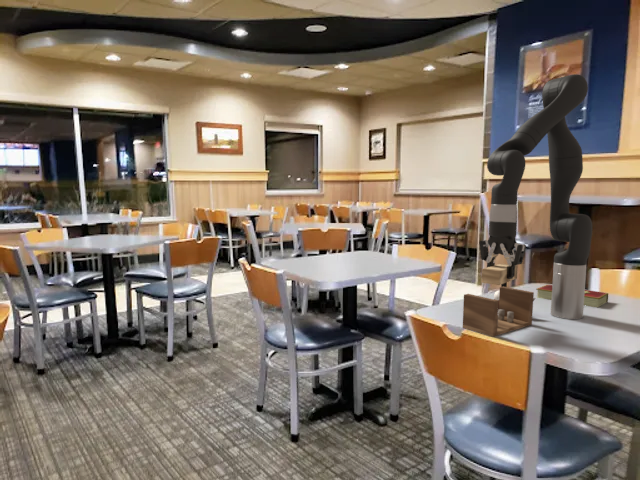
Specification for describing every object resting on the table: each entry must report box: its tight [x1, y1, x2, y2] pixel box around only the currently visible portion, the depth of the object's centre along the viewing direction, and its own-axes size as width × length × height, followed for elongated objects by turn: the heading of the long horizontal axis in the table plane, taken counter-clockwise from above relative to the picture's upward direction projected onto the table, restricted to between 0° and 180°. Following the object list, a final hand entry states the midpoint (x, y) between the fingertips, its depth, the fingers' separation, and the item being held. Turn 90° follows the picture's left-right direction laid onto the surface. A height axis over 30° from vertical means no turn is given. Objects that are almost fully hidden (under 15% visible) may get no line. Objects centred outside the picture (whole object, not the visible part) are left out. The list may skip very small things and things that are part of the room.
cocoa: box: [493, 282, 508, 310], centre depth 151 cm, size 10×6×12 cm, turn 142°
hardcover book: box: [535, 284, 609, 309], centre depth 166 cm, size 12×21×4 cm, turn 44°
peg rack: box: [462, 286, 535, 338], centre depth 133 cm, size 20×10×10 cm, turn 125°
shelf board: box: [481, 263, 519, 286], centre depth 131 cm, size 14×5×4 cm, turn 137°
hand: (500, 276), depth 132 cm, fingers closed on shelf board, 5 cm apart
